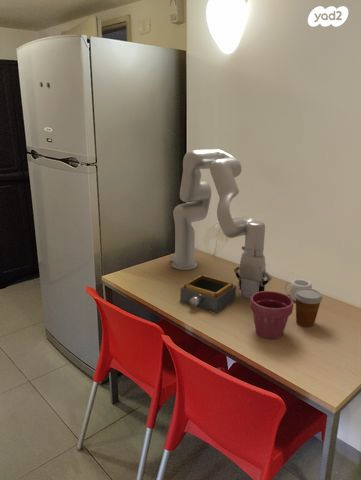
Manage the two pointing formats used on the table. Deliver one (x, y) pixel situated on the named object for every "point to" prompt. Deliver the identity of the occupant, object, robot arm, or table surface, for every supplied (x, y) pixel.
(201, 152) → the robot arm
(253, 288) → the medicine box
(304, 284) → the mug
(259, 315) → the plant pot
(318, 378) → the table surface
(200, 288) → the box
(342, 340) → the table surface
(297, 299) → the disposable coffee cup
